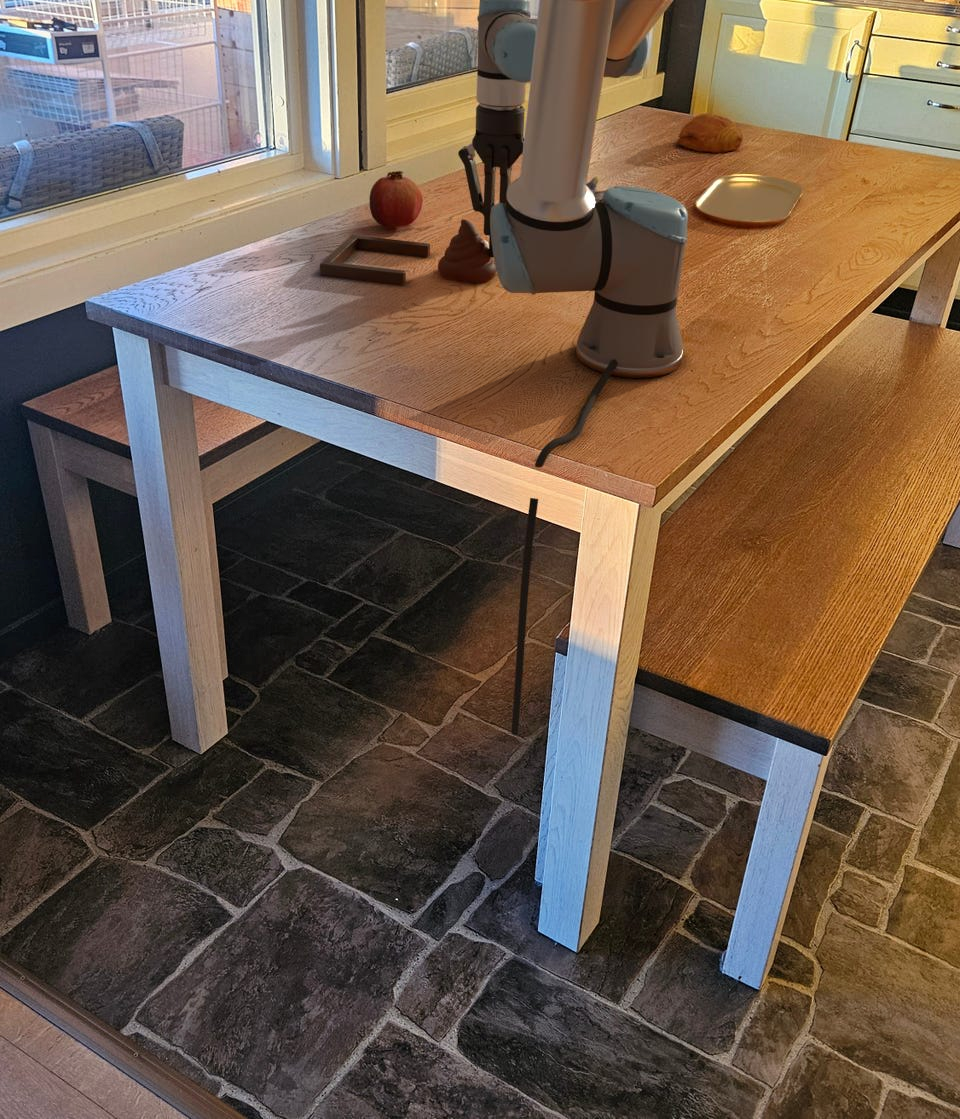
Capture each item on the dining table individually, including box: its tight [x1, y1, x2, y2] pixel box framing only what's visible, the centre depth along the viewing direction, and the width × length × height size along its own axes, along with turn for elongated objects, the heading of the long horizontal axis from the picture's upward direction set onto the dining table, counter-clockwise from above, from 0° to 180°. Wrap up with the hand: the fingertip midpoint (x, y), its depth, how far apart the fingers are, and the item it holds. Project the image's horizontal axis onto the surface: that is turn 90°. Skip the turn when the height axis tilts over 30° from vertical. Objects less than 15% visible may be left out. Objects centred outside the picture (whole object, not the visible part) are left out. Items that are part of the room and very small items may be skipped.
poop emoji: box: [437, 218, 497, 284], centre depth 181 cm, size 10×8×9 cm
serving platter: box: [694, 173, 804, 228], centre depth 223 cm, size 19×35×2 cm, turn 157°
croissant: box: [677, 112, 743, 154], centre depth 261 cm, size 14×16×8 cm
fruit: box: [368, 170, 424, 228], centre depth 201 cm, size 11×10×10 cm
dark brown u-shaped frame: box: [319, 234, 431, 286], centre depth 186 cm, size 16×14×2 cm
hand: (494, 254), depth 181 cm, fingers closed
